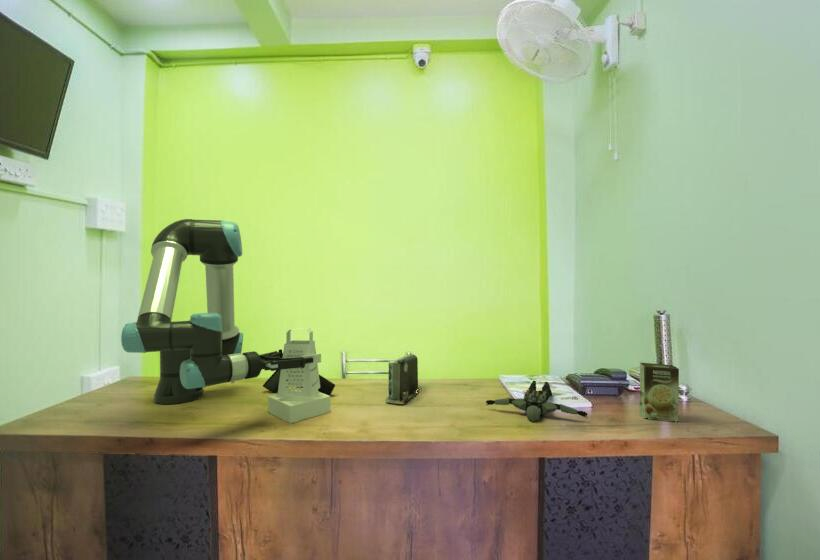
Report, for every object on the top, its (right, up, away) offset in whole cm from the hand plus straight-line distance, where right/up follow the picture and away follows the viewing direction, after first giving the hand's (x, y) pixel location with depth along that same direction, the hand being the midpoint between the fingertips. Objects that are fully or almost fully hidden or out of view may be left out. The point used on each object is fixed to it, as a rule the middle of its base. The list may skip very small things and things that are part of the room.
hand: (310, 355), depth 126 cm
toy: (+75, -18, +2) cm, 77 cm away
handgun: (-9, -18, +17) cm, 26 cm away
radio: (+30, -18, +15) cm, 38 cm away
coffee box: (+109, -18, -7) cm, 111 cm away
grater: (-3, -11, -3) cm, 12 cm away
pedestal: (-3, -17, -3) cm, 18 cm away
